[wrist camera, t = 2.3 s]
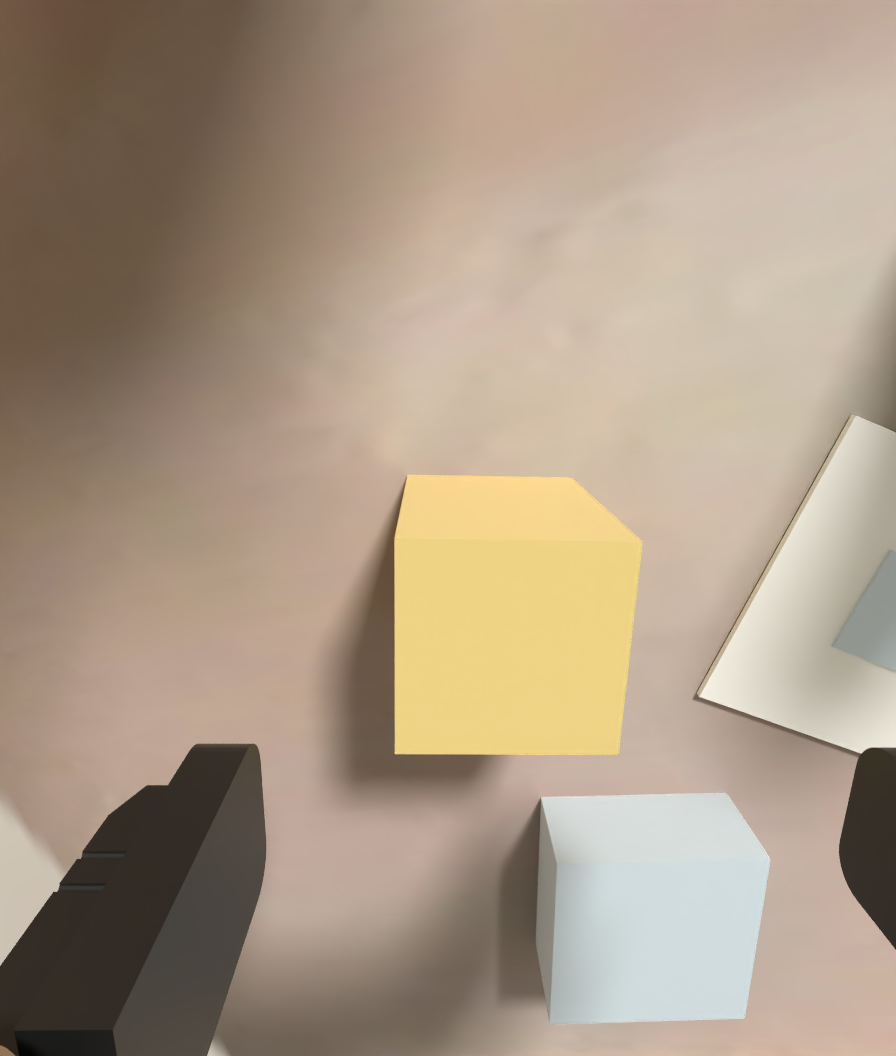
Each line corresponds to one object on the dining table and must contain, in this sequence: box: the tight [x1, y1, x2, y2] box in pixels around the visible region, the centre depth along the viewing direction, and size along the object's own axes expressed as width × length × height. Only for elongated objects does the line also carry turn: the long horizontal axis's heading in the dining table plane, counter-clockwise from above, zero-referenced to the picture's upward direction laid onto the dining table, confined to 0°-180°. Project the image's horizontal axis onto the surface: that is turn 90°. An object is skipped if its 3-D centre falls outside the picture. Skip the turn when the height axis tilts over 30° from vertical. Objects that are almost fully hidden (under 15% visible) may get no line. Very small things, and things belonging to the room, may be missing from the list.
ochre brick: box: [394, 475, 642, 755], centre depth 15 cm, size 4×4×6 cm
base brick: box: [536, 793, 770, 1024], centre depth 20 cm, size 6×6×3 cm
